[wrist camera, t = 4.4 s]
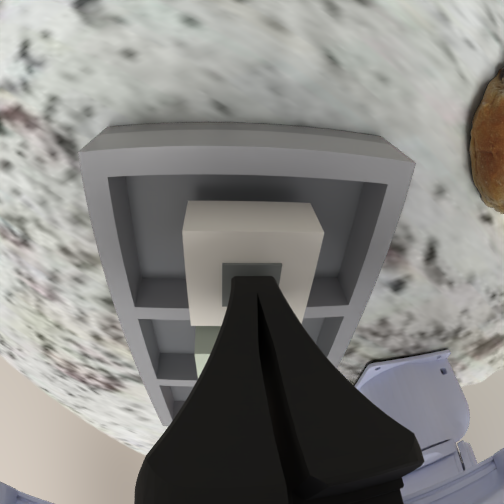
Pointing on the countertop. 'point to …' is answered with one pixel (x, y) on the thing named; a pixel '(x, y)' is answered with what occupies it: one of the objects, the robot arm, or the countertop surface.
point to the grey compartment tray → (234, 189)
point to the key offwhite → (248, 252)
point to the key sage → (204, 344)
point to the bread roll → (489, 145)
